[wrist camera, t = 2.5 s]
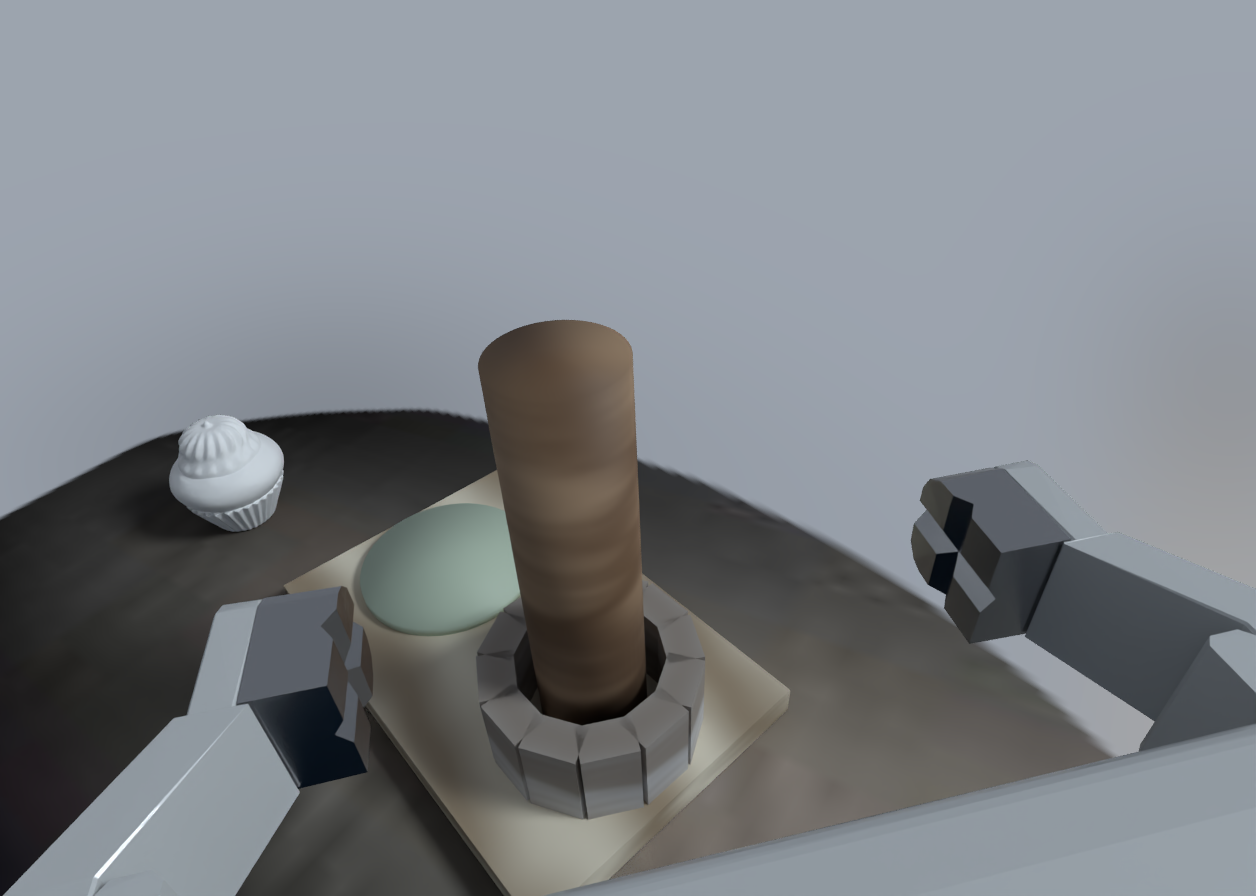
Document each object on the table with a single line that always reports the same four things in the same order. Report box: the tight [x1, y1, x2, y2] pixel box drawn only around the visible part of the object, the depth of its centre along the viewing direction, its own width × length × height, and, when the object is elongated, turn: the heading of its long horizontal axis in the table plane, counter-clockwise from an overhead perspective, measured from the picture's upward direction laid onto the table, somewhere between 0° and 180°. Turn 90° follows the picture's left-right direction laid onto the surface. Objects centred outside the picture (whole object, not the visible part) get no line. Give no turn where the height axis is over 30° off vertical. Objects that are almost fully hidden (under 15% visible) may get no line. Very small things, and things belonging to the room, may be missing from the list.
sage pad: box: [360, 503, 521, 636], centre depth 41 cm, size 9×9×1 cm
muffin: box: [169, 415, 284, 532], centre depth 45 cm, size 6×6×7 cm
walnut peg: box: [478, 320, 647, 726], centre depth 28 cm, size 4×4×18 cm
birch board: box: [284, 470, 790, 896], centre depth 37 cm, size 14×22×6 cm, turn 42°
